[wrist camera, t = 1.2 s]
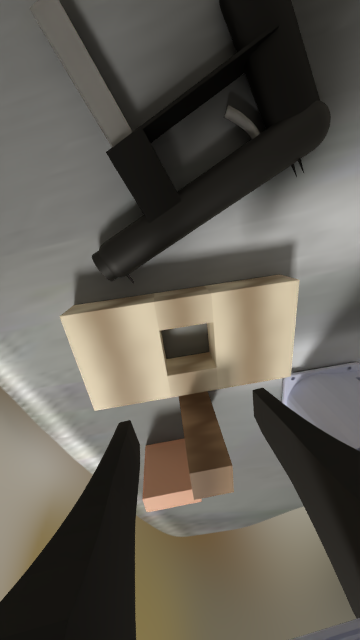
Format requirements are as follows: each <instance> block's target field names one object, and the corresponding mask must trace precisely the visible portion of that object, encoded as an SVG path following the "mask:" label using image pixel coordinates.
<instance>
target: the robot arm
mask: <svg viewBox="0 0 360 640" xmlns="http://www.w3.org/2000/svg"><path fill="white" fill-rule="evenodd" d="M292 377H293V378H292ZM253 406H254V417H255V419H256V421H257V423H258V425H259V427H260V429H261V432H262V434H263V435H264V437H265V439H266V440H267V442H268V444H269V445H270V447H271V449H272V450H273V452H274V453H275V455H276V457H277V458H278V460H279V462H280V463H281V465H282V466H283V468H284V470H285V471H286V473H287V475H288V476H289V478H290V480H291V482H292V484H293V485H294V487H295V489H296V491H297V493H298V495H299V497H300V499H301V501H302V503H303V505H304V507H305V509H306V511H307V513H308V515H309V517H310V519H311V521H312V523H313V525H314V527H315V529H316V532H317V534H318V536H319V538H320V540H321V542H322V544H323V546H324V549H325V551H326V553H327V555H328V557H329V559H330V561H331V564H332V565H333V568H334V570H335V572H336V575H337V577H338V579H339V581H340V583H341V585H342V588H343V590H344V592H345V594H346V597H347V599H348V601H349V604H350V606H351V608H352V610H353V612H354V614H355V616H356V618H357V619H355V620H352V621H348V622H345V623H342V624H339V625H336V626H332V627H329V628H325V629H322V630H319V631H316V632H313V633H310V634H306V635H303V636H299V637H296V638H293V639H290V640H360V364H359V363H357V362H354V363H348V364H342V365H337V366H331V367H325V368H319V369H313V370H308V371H302V372H296V373H291V377H285V378H283V391H282V402H281V401H279V400H278V399H277V398H275V397H274V396H273V395H272V394H270V393H269V392H268V391H267V390H265V389H264V388H260V389H256V390H253ZM139 471H140V444H139V441H138V439H137V436H136V434H135V431H134V428H133V426H132V423H131V421H130V420H128V421H124V422H120V423H119V424H118V426H117V428H116V431H115V433H114V435H113V437H112V439H111V441H110V443H109V445H108V448H107V450H106V452H105V453H104V455H103V457H102V459H101V461H100V463H99V465H98V467H97V469H96V471H95V472H94V474H93V476H92V478H91V479H90V481H89V483H88V485H87V486H86V488H85V490H84V491H83V493H82V495H81V496H80V498H79V499H78V501H77V502H76V504H75V506H74V507H73V509H72V510H71V512H70V513H69V515H68V516H67V517H66V519H65V520H64V522H63V523H62V525H61V526H60V528H59V529H58V530H57V532H56V533H55V535H54V536H53V537H52V539H51V540H50V541H49V543H48V544H47V545H46V546H45V548H44V549H43V550H42V552H41V553H40V554H39V556H38V557H37V558H36V560H35V561H34V562H33V563H32V565H31V566H30V567H29V569H28V570H27V571H26V572H25V574H24V575H23V576H22V577H21V578H20V579H19V581H18V582H17V583H16V584H15V585H14V587H13V588H12V589H11V590H10V591H9V592H8V594H7V595H6V596H5V597H4V598H3V600H2V601H1V602H0V640H136V623H135V518H136V506H137V494H138V483H139Z"/></svg>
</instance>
